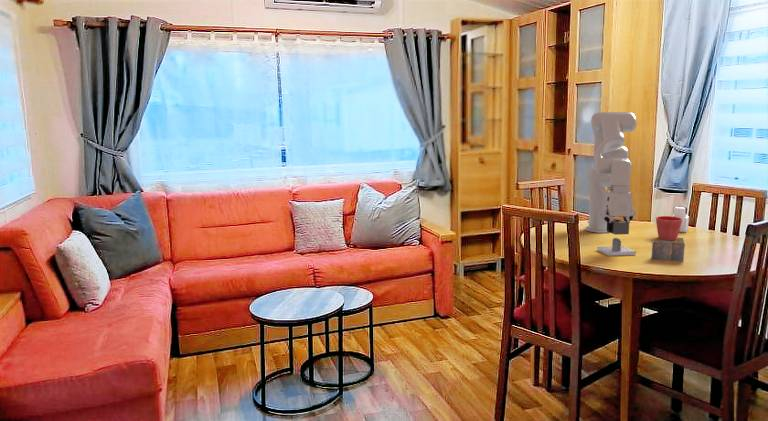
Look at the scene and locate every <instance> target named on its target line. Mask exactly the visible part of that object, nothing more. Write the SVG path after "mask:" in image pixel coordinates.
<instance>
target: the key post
mask: <svg viewBox="0 0 768 421" xmlns="http://www.w3.org/2000/svg"><path fill="white" fill-rule="evenodd" d="M621 244H622V240H621V239H620V238H618V237H614V238H612V244H611V246H597V249H596V251H597V252H600V253H602V254H604V255H605V256H606V257H607V256H608V257H616V256H617V257H619V256H621V257H622V256H636V255H637V251H636V250H634V249H631V248H630V247H627V246H624V245H621Z"/></svg>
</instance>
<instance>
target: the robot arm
mask: <svg viewBox="0 0 768 421" xmlns="http://www.w3.org/2000/svg"><path fill="white" fill-rule="evenodd" d="M590 123H591V128H592V132H593V134H594V145H593V146H594V147H593V161H594V162H593V163H594V164H595V168H592V169H591V170H590V172H589V173H588V174H589V175H588V179H589V180H588V181H589V208H588V209H589V210H588V211H589V212H588V213H589V214H588V221H587V224H588V226H586V227H584V228H585V231H587V232H590V233H597V234H598V233H599V234H605V233H609V232H610V234H612V231H613V223H612V221H613V220H614V218H623V219H622V220H624V221H627V222H629V224H630V222H631V221H632V220H633V219H634V218H635V217H636V215H637V212H636V211H635V210H634V204H633V203H634V202H633V201H634V200H633V196H632V192H630V188H631V186H630V184H631V171H632V161H630V159H629V156H630V154H629V149H628V148H627V147H626V146H625V145H624V143H625V134H624V133H625V132H626V133H627V132H634V131H635V130H636V128H637V123H638V122H637V117H636V115H635V114H634V113H633V112H629V111H601V112H595V113H594V114H593V115H592V116H591V118H590ZM608 191H609V192H608ZM606 230H607V231H608V232H607V231H606Z"/></svg>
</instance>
